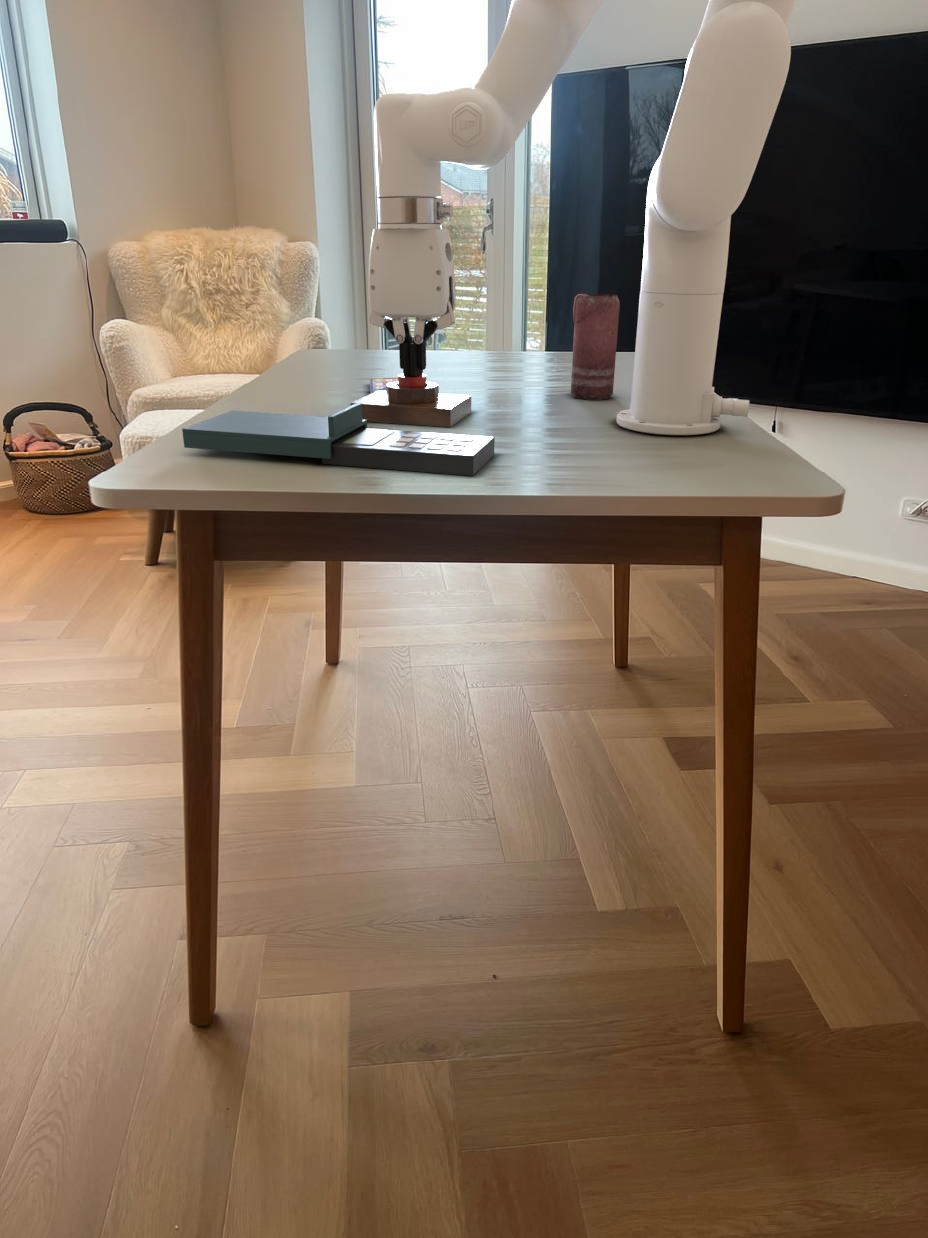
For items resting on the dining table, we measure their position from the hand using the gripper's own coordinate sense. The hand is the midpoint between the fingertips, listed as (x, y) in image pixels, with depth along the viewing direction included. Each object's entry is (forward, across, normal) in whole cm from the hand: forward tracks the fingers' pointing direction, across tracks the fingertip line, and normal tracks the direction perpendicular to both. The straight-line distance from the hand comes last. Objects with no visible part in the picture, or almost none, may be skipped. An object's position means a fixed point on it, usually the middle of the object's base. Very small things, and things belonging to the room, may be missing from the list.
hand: (413, 374), depth 110 cm
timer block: (+5, 0, 0) cm, 5 cm away
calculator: (+5, -7, +22) cm, 24 cm away
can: (+6, -20, -22) cm, 30 cm away
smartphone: (+5, +8, -16) cm, 19 cm away
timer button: (+2, 0, 0) cm, 2 cm away
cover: (+5, +8, +22) cm, 24 cm away
